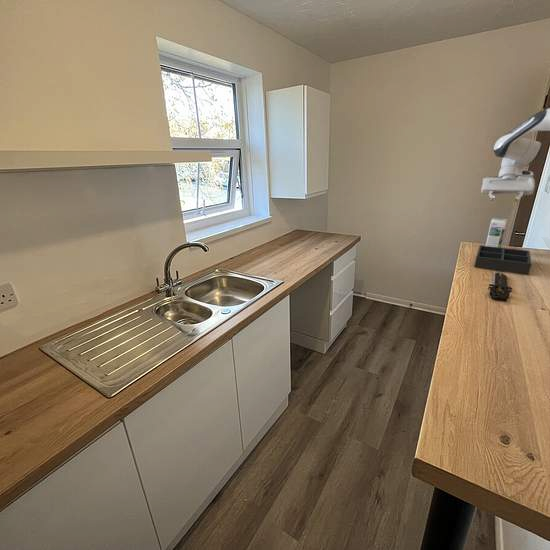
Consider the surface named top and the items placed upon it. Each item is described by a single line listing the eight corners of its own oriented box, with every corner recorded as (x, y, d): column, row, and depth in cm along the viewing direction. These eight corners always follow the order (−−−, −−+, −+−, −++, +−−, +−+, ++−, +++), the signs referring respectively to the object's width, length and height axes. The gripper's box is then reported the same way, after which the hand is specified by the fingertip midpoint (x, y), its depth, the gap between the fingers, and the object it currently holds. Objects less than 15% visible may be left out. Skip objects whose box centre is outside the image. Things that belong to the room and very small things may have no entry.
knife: (494, 273, 116) (495, 270, 116) (515, 277, 112) (516, 273, 112) (484, 297, 99) (485, 294, 98) (508, 303, 95) (509, 299, 94)
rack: (526, 261, 126) (529, 250, 124) (528, 275, 113) (531, 263, 111) (477, 255, 135) (479, 245, 134) (474, 267, 123) (476, 256, 121)
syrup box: (484, 251, 140) (491, 220, 134) (486, 247, 144) (493, 217, 138) (498, 253, 136) (506, 221, 131) (500, 249, 140) (508, 218, 135)
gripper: (484, 172, 148) (478, 195, 144) (538, 172, 136) (533, 197, 133) (483, 180, 153) (477, 203, 149) (534, 181, 141) (530, 205, 138)
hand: (504, 200), depth 141 cm, fingers open, 8 cm apart
